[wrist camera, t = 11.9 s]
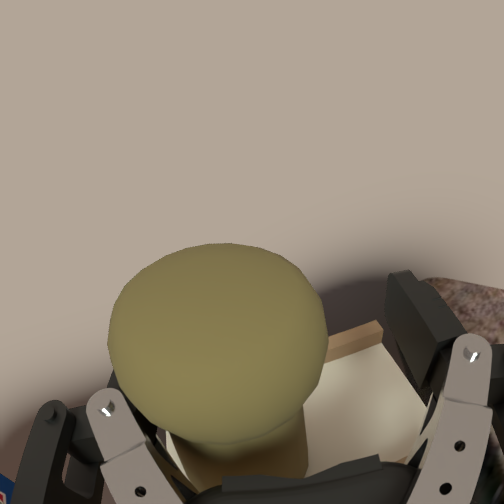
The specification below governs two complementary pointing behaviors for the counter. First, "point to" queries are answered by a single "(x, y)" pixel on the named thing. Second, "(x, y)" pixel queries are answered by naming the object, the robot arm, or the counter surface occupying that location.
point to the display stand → (357, 404)
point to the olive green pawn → (222, 358)
